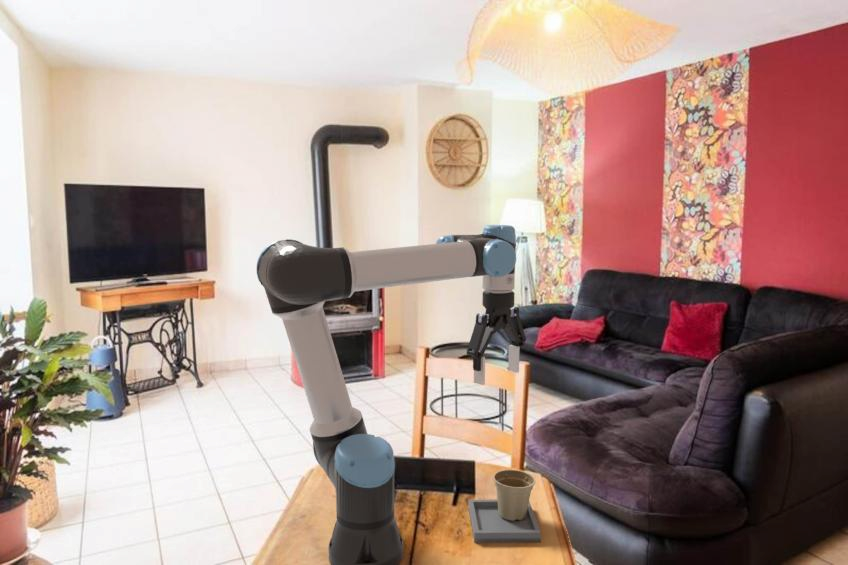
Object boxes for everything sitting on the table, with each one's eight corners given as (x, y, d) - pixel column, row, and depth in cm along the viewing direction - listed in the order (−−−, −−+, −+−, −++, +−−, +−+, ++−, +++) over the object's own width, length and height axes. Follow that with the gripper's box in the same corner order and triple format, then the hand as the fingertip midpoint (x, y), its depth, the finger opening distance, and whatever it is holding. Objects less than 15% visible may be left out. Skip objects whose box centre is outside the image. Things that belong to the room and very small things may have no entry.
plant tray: (474, 542, 128) (474, 532, 128) (468, 508, 142) (468, 499, 142) (540, 542, 128) (540, 532, 128) (528, 508, 142) (528, 499, 142)
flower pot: (533, 506, 142) (534, 471, 141) (534, 527, 132) (536, 489, 131) (492, 502, 143) (493, 467, 142) (490, 522, 134) (492, 485, 133)
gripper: (477, 298, 133) (476, 392, 136) (541, 286, 150) (539, 369, 154) (451, 294, 138) (451, 385, 141) (516, 283, 156) (514, 363, 159)
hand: (496, 377), depth 147 cm, fingers open, 13 cm apart
